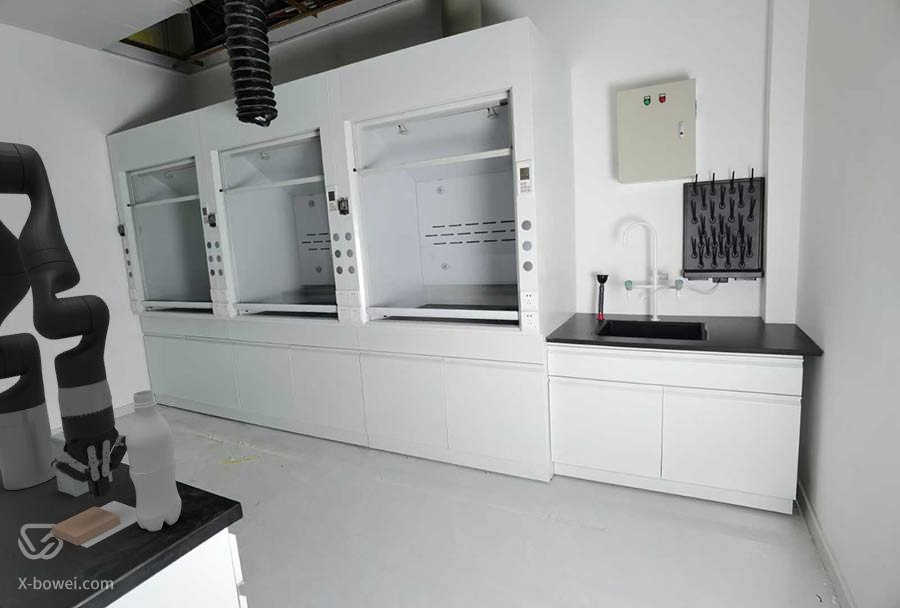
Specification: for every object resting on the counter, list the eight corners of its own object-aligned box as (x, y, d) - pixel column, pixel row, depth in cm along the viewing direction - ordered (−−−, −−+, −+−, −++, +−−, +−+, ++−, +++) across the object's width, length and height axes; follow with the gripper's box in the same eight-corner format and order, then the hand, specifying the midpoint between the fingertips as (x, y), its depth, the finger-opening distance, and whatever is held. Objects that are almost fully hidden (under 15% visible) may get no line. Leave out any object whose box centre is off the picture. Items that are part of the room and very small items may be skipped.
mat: (49, 533, 87) (49, 531, 87) (114, 502, 96) (114, 500, 96) (87, 549, 81) (86, 547, 81) (151, 515, 91) (151, 513, 91)
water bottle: (157, 512, 92) (139, 386, 89) (191, 512, 91) (175, 386, 88) (128, 535, 85) (108, 399, 82) (165, 536, 84) (146, 399, 81)
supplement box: (57, 491, 102) (48, 435, 100) (96, 476, 108) (88, 422, 107) (75, 499, 99) (66, 441, 97) (114, 482, 105) (106, 427, 103)
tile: (95, 514, 92) (52, 535, 85) (94, 506, 91) (51, 526, 85) (120, 523, 88) (77, 546, 82) (119, 515, 88) (76, 537, 82)
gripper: (113, 393, 94) (125, 476, 96) (31, 416, 82) (47, 510, 84) (136, 397, 91) (148, 483, 93) (54, 422, 79) (71, 520, 81)
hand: (100, 496), depth 89 cm, fingers closed
